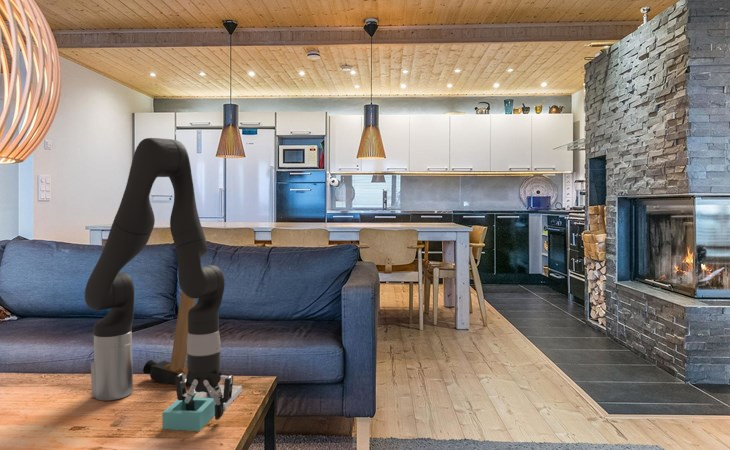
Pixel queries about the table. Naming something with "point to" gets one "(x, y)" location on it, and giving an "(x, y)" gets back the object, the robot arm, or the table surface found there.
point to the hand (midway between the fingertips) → (204, 417)
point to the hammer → (174, 349)
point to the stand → (235, 392)
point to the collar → (189, 415)
